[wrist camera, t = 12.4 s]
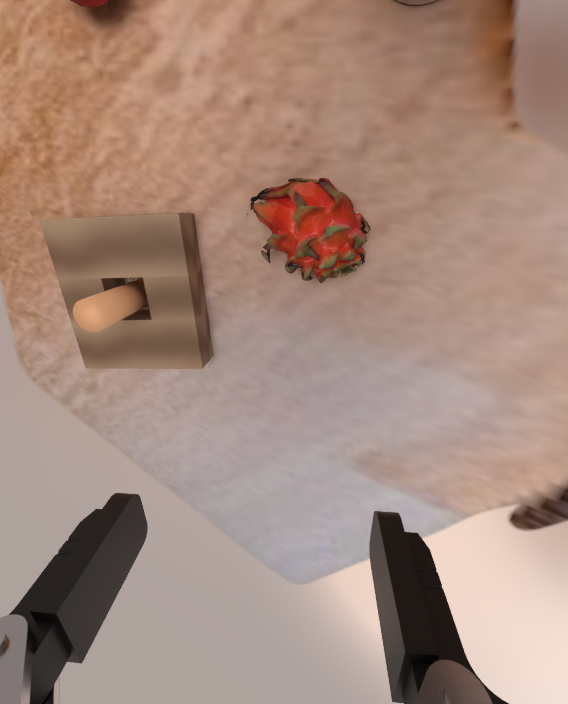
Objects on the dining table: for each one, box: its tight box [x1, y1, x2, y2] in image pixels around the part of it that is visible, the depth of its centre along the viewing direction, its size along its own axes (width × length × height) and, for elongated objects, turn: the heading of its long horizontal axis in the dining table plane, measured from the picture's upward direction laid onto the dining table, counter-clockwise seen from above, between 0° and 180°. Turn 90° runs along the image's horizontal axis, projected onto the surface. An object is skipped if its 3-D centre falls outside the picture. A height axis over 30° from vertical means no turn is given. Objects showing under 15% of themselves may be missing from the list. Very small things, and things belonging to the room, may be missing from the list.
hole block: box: [40, 213, 213, 369], centre depth 35 cm, size 16×14×4 cm
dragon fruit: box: [247, 178, 370, 283], centre depth 30 cm, size 8×8×12 cm
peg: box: [73, 279, 149, 332], centre depth 32 cm, size 3×3×10 cm
